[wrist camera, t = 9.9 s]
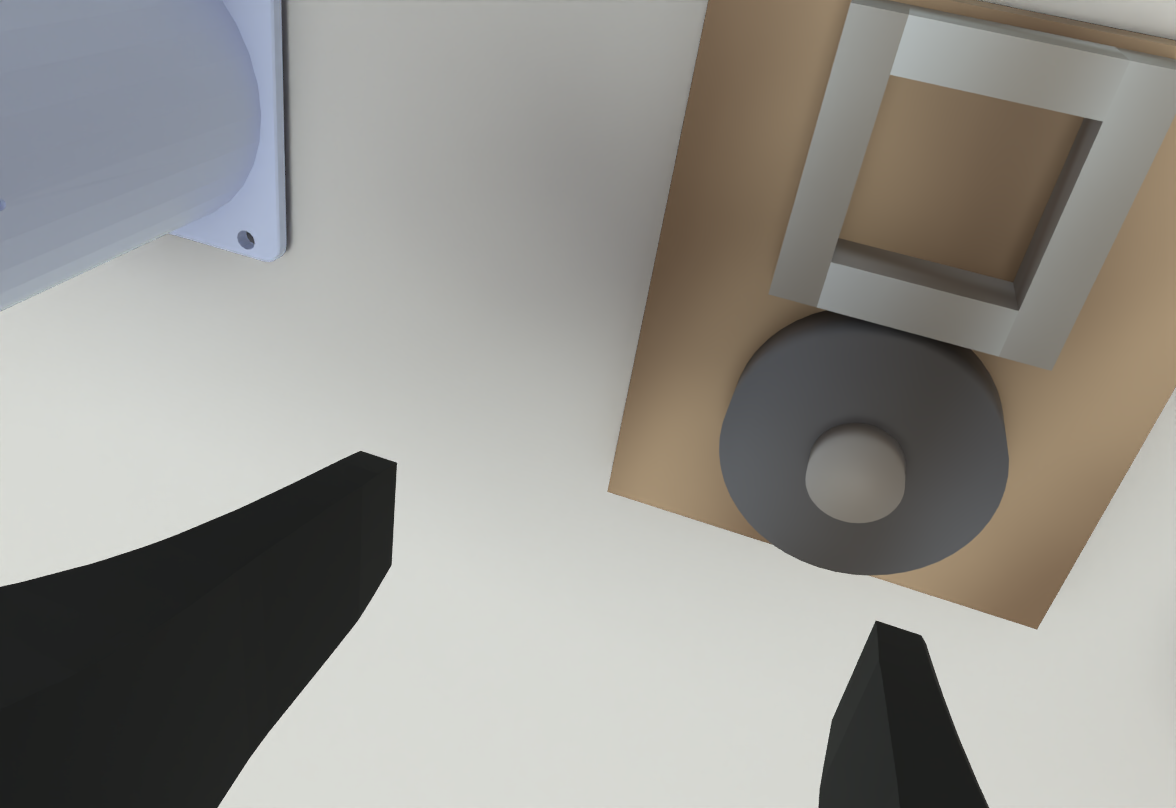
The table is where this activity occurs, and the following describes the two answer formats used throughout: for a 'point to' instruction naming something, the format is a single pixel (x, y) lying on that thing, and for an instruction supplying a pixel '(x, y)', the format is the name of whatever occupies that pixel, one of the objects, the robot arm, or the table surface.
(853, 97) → the pulley board
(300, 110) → the table surface
